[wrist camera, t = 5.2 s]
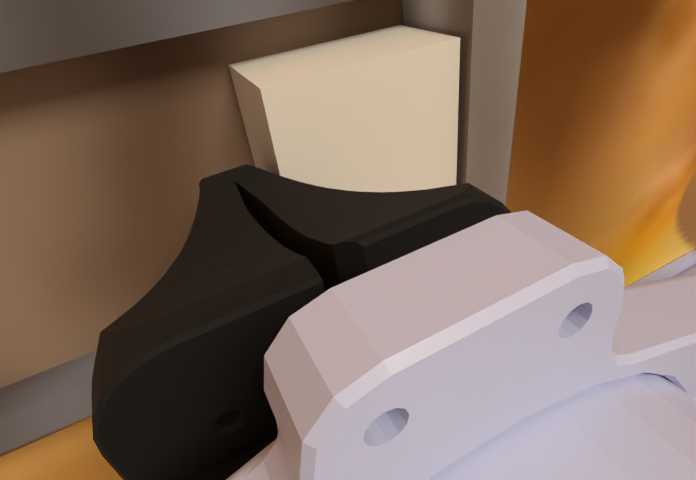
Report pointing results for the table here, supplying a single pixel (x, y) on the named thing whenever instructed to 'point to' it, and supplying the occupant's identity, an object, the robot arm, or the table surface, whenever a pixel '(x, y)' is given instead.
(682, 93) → the table surface
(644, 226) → the table surface
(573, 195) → the table surface
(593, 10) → the table surface
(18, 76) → the brown and grey tray
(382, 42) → the block
